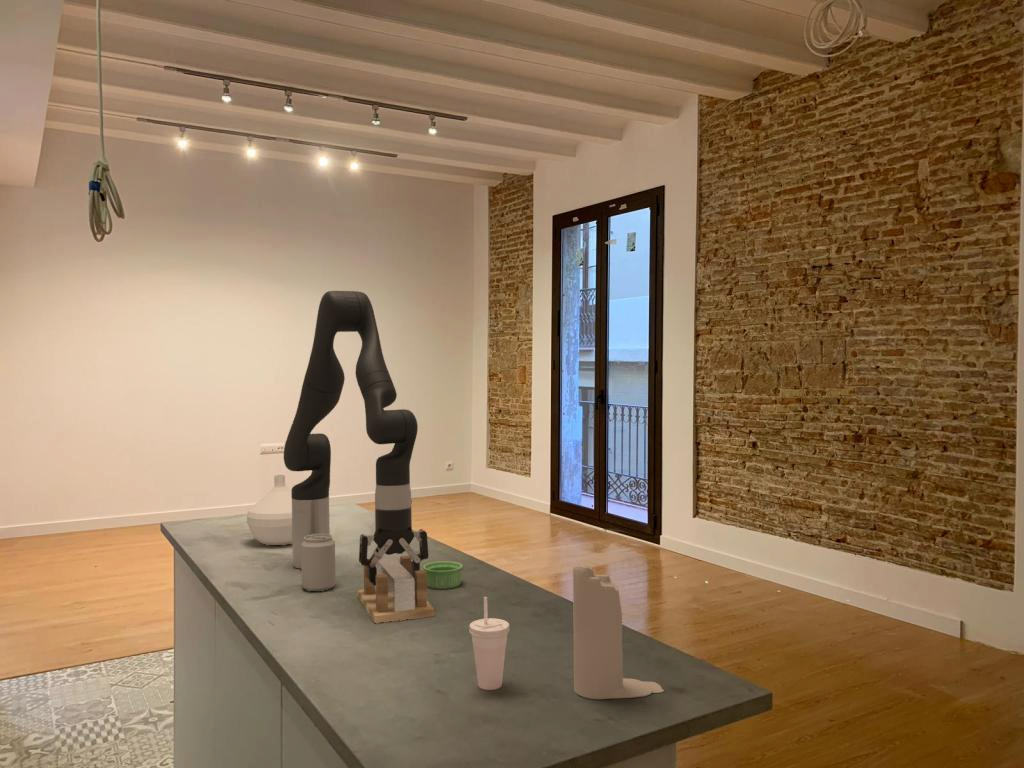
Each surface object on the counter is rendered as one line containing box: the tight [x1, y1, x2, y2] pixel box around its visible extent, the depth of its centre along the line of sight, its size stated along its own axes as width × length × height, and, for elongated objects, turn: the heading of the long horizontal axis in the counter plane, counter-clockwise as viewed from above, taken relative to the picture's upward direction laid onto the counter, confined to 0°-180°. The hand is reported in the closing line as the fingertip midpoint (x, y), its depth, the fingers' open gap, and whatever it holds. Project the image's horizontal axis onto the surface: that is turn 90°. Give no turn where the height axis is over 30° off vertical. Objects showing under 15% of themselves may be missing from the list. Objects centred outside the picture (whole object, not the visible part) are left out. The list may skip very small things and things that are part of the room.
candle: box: [572, 563, 665, 700], centre depth 124 cm, size 7×14×20 cm, turn 95°
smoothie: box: [469, 596, 510, 691], centre depth 126 cm, size 6×6×14 cm
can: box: [301, 534, 337, 592], centre depth 181 cm, size 8×8×12 cm
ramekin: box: [422, 560, 463, 590], centre depth 183 cm, size 9×9×4 cm
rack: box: [357, 555, 435, 624], centre depth 167 cm, size 19×12×8 cm, turn 21°
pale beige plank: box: [376, 557, 415, 613], centre depth 167 cm, size 18×4×6 cm, turn 21°
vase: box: [246, 474, 292, 546], centre depth 228 cm, size 18×18×19 cm
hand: (394, 582), depth 167 cm, fingers open, 8 cm apart
